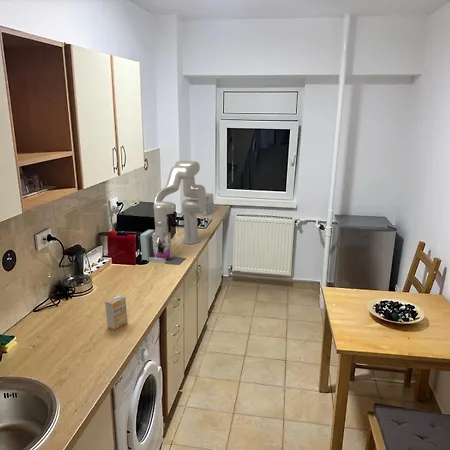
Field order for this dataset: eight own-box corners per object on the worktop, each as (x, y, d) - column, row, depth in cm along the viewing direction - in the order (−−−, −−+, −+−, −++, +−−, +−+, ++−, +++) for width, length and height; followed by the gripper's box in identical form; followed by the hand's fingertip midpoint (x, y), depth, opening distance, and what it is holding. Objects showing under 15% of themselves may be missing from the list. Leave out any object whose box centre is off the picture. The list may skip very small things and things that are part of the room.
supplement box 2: (214, 212, 386) (213, 193, 381) (206, 215, 375) (205, 196, 370) (199, 210, 394) (198, 191, 389) (190, 213, 384) (190, 194, 379)
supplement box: (114, 330, 183) (112, 303, 179) (107, 327, 185) (104, 301, 182) (128, 322, 189) (125, 296, 186) (120, 319, 192) (118, 294, 188)
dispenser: (150, 255, 276) (148, 229, 271) (171, 257, 271) (170, 231, 267) (142, 261, 265) (140, 234, 260) (164, 263, 260) (162, 236, 255)
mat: (172, 257, 271) (172, 256, 271) (186, 258, 269) (186, 257, 269) (165, 263, 260) (165, 263, 260) (179, 265, 258) (179, 264, 258)
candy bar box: (153, 259, 265) (151, 234, 261) (156, 256, 270) (153, 232, 266) (170, 259, 263) (168, 234, 259) (172, 256, 268) (170, 232, 264)
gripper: (161, 220, 269) (163, 246, 274) (149, 227, 253) (151, 255, 259) (171, 220, 267) (173, 247, 272) (160, 228, 251) (162, 255, 256)
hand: (162, 250), depth 265 cm, fingers closed on candy bar box, 5 cm apart
